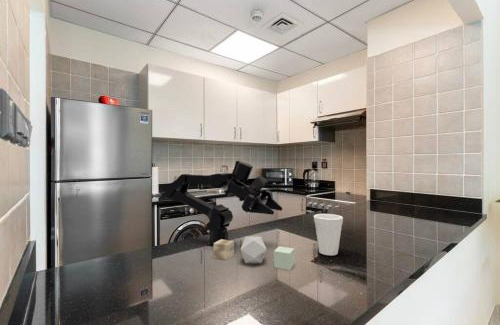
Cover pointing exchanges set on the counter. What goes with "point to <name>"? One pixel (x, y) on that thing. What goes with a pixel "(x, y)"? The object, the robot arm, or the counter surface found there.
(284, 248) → the sage block
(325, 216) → the cup
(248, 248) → the die
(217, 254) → the birch block
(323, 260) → the counter surface
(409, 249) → the counter surface
